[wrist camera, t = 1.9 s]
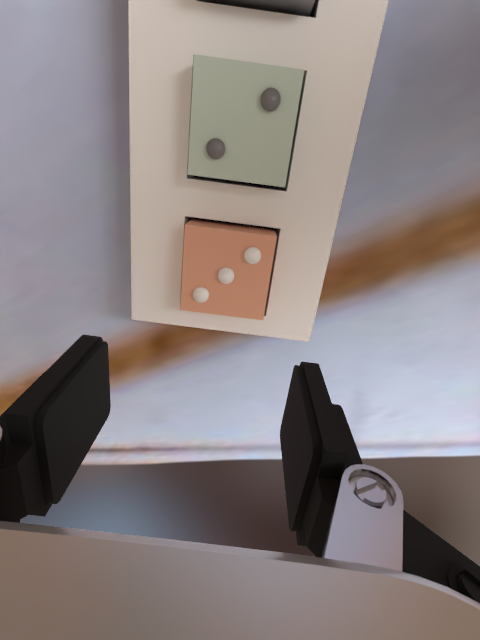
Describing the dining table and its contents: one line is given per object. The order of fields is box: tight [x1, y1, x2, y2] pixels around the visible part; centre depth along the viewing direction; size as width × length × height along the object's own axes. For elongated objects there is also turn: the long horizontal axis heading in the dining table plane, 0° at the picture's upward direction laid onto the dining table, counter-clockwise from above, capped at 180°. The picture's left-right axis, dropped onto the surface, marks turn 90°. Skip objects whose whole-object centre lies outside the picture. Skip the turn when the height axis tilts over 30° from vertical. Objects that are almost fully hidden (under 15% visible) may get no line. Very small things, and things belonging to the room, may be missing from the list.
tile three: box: [180, 219, 277, 320], centre depth 25 cm, size 6×6×3 cm
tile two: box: [188, 54, 304, 187], centre depth 21 cm, size 6×6×3 cm
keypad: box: [128, 0, 389, 342], centre depth 23 cm, size 14×28×3 cm, turn 173°
